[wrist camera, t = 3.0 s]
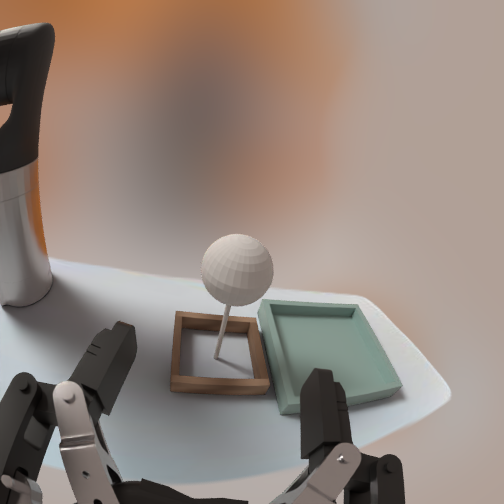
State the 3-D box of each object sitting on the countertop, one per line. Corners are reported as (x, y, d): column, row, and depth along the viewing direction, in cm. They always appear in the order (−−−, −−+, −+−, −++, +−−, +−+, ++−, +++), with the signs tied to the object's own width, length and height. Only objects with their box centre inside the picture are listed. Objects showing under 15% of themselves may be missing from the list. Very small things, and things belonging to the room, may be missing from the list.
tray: (280, 414, 23) (288, 404, 22) (257, 312, 36) (262, 299, 35) (391, 396, 27) (402, 385, 26) (350, 316, 40) (357, 304, 38)
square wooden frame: (170, 391, 23) (170, 381, 22) (175, 322, 31) (175, 310, 30) (264, 394, 25) (270, 385, 24) (252, 328, 33) (255, 317, 32)
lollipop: (186, 336, 30) (202, 217, 22) (235, 336, 32) (268, 223, 24) (192, 381, 25) (212, 260, 17) (248, 378, 27) (294, 264, 19)
